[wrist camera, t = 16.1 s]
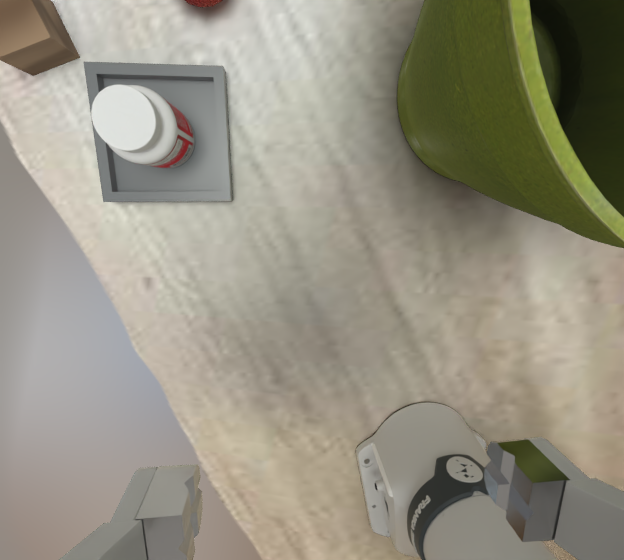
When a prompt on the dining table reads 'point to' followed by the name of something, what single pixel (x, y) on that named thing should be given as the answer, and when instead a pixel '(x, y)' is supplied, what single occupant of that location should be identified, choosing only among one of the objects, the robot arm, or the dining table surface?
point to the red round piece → (203, 2)
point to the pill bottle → (142, 126)
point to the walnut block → (33, 36)
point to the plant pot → (523, 105)
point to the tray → (202, 116)
